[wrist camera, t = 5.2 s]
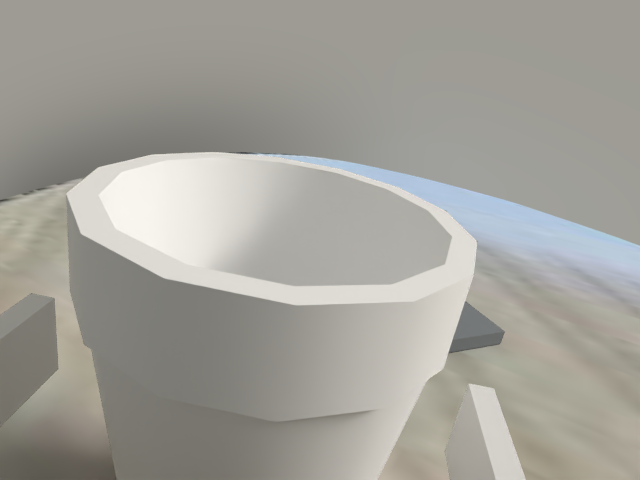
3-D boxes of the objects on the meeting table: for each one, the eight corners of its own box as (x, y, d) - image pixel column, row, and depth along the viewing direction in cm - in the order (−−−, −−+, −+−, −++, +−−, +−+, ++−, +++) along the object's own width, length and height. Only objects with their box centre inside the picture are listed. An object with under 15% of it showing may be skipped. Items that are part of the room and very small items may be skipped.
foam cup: (19, 574, 15) (-28, 176, 10) (224, 414, 22) (255, 142, 17) (253, 846, 11) (373, 390, 6) (408, 537, 18) (517, 224, 13)
